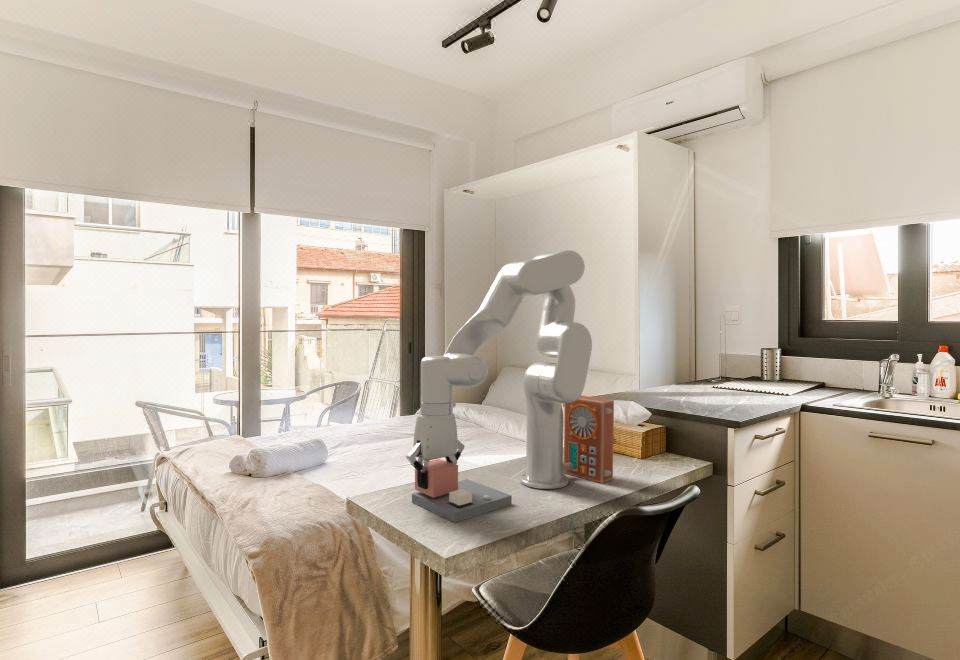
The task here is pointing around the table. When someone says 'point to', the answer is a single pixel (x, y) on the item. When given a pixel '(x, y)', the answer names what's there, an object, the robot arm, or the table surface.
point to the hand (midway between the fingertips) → (436, 483)
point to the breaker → (460, 497)
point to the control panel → (589, 438)
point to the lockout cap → (439, 478)
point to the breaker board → (481, 503)
